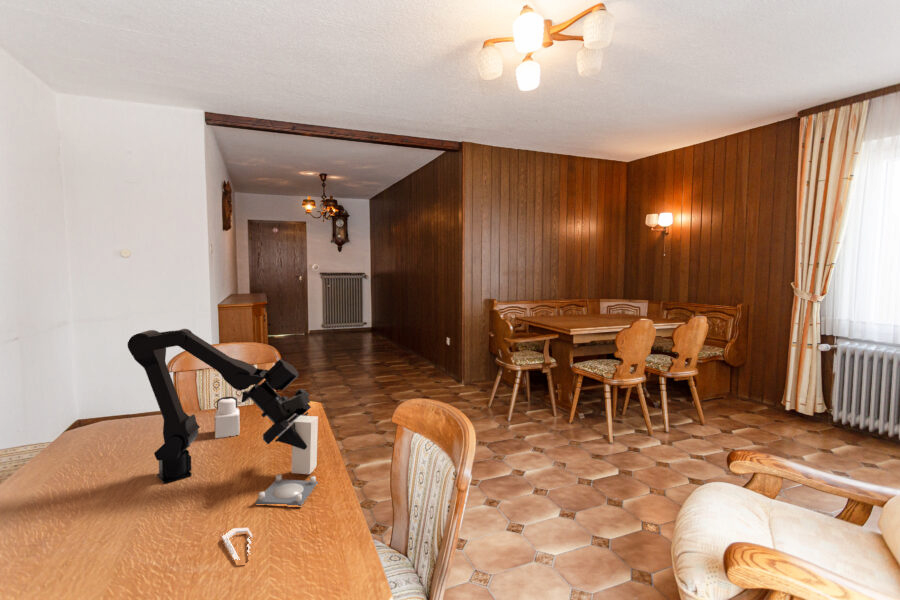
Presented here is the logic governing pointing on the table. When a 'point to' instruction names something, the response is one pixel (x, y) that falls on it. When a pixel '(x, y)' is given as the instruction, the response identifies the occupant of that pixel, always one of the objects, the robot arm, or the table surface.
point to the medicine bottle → (226, 417)
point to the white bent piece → (228, 543)
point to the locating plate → (287, 491)
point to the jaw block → (308, 432)
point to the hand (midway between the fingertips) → (309, 444)
